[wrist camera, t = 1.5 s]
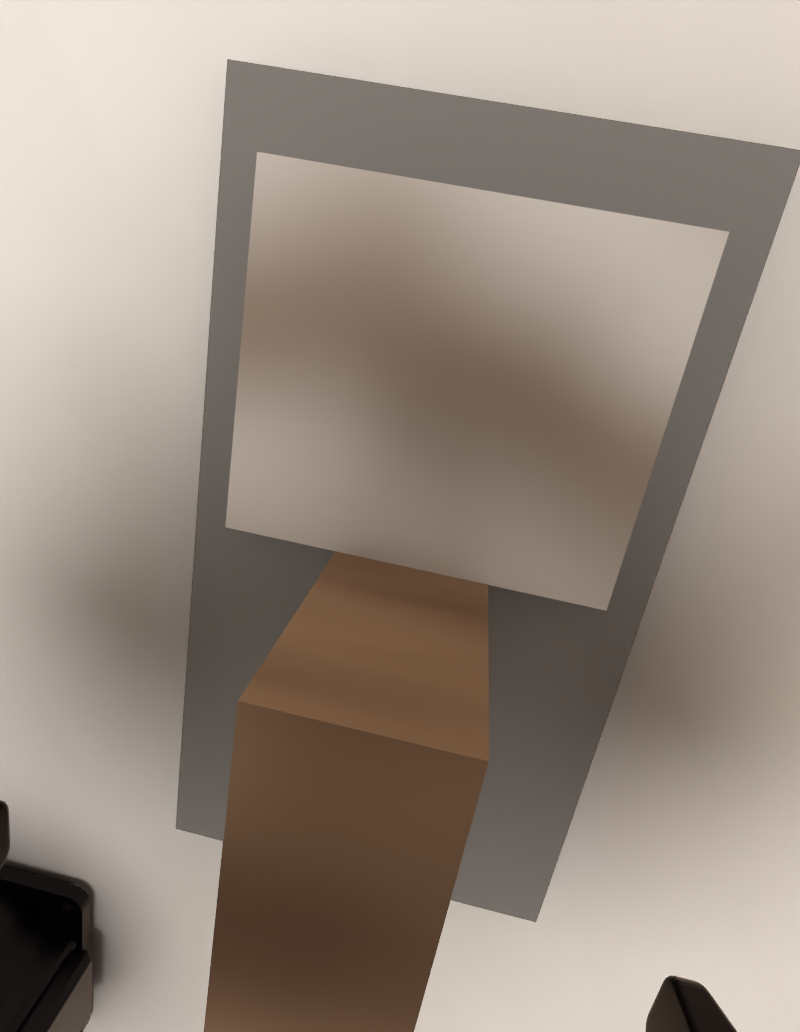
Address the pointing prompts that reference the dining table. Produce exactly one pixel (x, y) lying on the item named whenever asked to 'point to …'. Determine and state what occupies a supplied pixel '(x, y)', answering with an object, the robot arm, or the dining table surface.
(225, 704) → the mat
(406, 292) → the turner
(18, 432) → the dining table surface
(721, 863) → the dining table surface
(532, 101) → the dining table surface
